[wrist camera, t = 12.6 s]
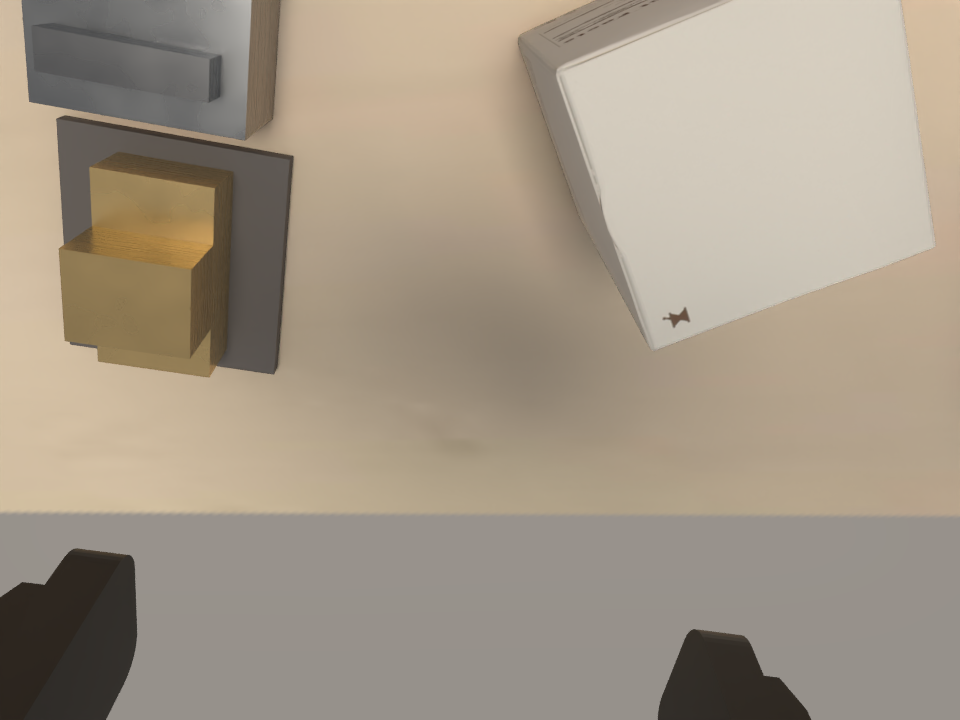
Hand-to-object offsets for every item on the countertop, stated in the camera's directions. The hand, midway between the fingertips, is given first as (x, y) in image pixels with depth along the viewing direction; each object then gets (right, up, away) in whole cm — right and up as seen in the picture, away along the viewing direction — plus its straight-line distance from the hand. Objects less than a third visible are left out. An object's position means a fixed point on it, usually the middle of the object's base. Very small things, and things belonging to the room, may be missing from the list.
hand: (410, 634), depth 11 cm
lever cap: (-13, +9, +25) cm, 30 cm away
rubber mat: (-13, +9, +26) cm, 30 cm away
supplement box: (+8, +16, +23) cm, 29 cm away
